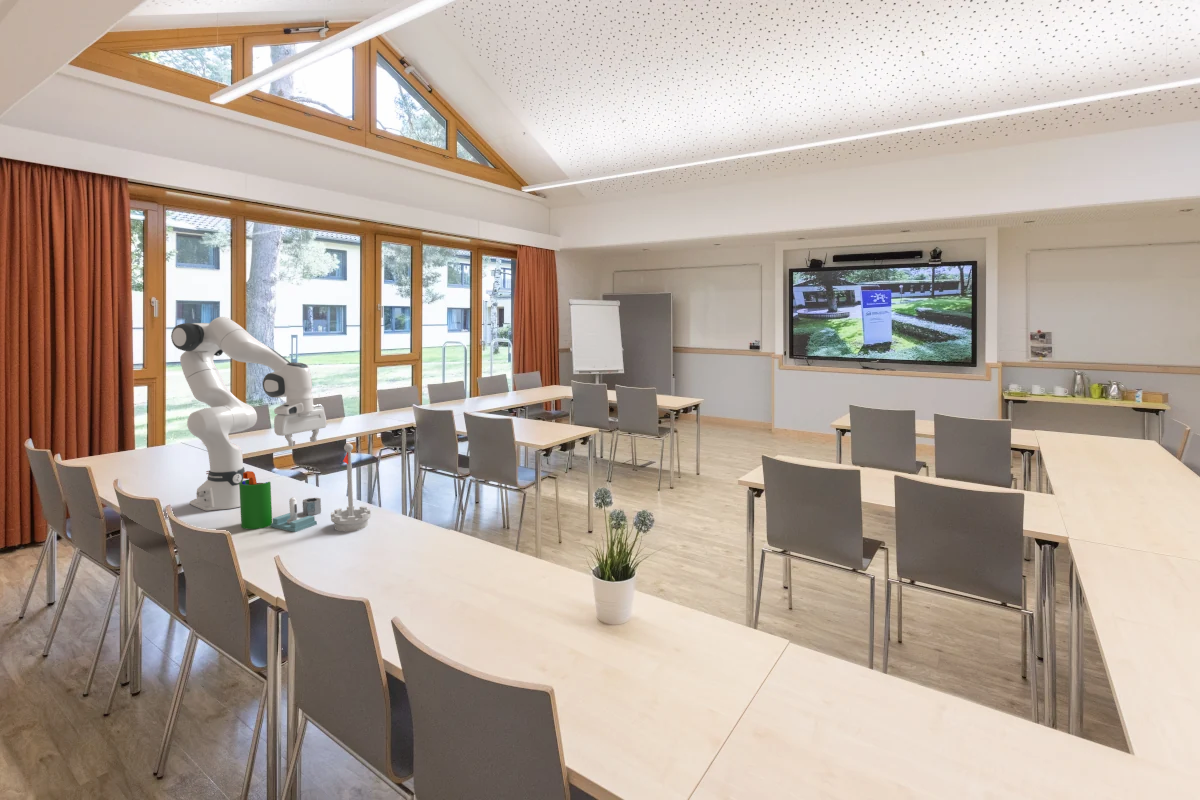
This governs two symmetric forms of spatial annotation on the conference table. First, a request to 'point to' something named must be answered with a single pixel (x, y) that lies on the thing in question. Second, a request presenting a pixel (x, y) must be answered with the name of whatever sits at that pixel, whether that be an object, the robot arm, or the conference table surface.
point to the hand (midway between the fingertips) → (302, 443)
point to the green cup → (255, 502)
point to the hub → (311, 506)
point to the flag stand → (350, 504)
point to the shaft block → (293, 520)
